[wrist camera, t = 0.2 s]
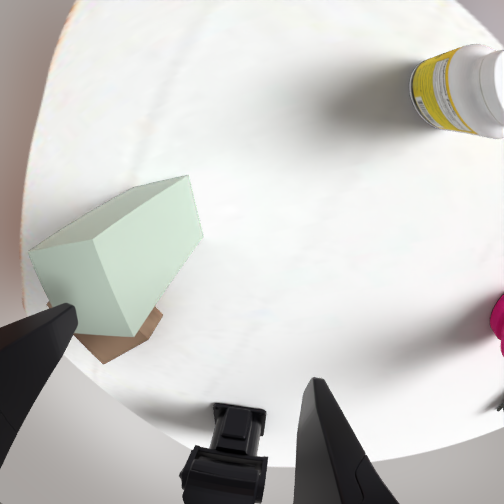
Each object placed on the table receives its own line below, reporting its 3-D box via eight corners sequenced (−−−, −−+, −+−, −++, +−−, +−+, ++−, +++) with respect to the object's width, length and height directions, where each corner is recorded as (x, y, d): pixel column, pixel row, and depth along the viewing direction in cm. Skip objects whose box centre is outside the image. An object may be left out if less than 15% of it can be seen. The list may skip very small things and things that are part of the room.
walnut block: (164, 313, 28) (148, 339, 25) (118, 341, 31) (103, 364, 28) (102, 244, 26) (78, 264, 22) (66, 285, 29) (46, 304, 25)
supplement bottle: (468, 71, 14) (552, 63, 6) (465, 136, 17) (550, 161, 8) (407, 50, 15) (478, 17, 6) (404, 120, 17) (479, 131, 9)
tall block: (203, 236, 23) (134, 337, 13) (149, 243, 24) (66, 332, 14) (188, 174, 21) (92, 239, 11) (133, 187, 22) (27, 252, 12)
